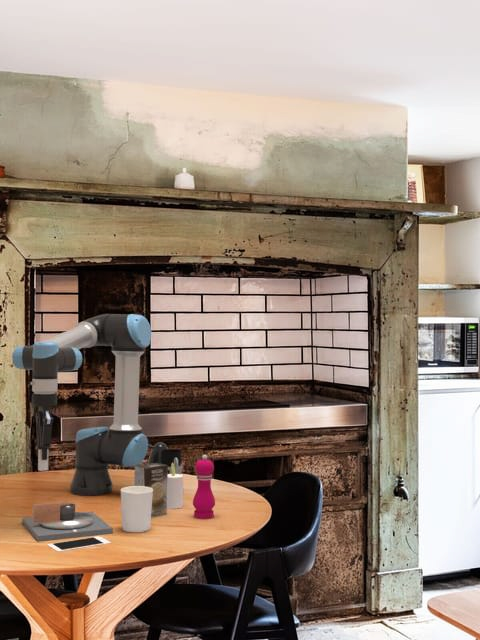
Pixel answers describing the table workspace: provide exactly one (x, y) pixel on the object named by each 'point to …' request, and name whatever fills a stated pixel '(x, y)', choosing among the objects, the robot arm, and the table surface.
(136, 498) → the candle holder
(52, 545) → the cell phone
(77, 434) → the robot arm
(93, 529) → the dial plate
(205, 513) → the pepper mill
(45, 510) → the dial
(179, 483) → the candle
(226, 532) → the table surface
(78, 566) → the table surface
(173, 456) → the picture frame
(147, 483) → the coffee box
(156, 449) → the pump dispenser
